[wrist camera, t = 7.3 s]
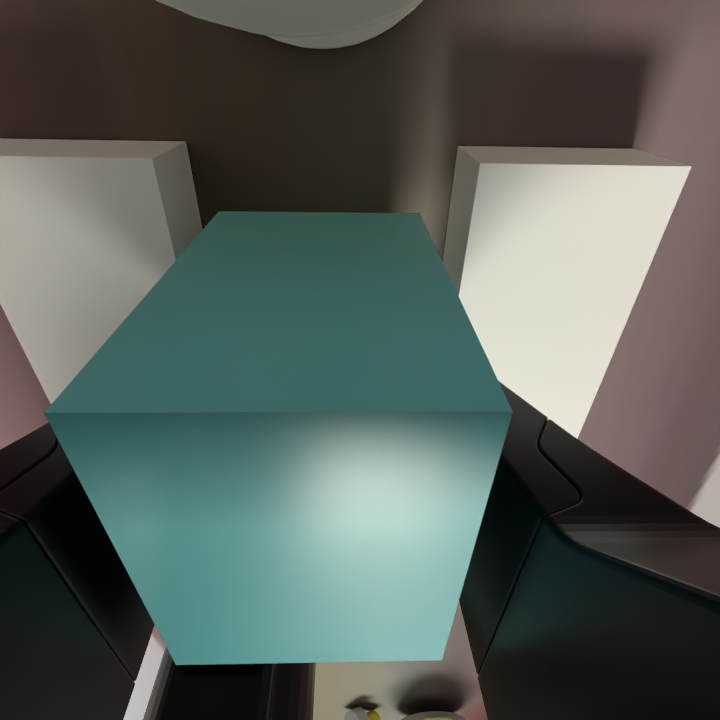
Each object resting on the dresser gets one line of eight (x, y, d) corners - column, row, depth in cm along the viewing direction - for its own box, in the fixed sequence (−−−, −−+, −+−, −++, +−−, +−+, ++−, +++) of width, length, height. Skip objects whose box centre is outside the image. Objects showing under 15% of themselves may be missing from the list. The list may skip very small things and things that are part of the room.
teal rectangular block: (401, 403, 12) (442, 660, 7) (250, 404, 11) (176, 664, 6) (419, 213, 9) (512, 411, 4) (218, 210, 9) (44, 413, 4)
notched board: (535, 437, 15) (558, 483, 13) (121, 438, 14) (92, 486, 13) (633, 148, 10) (691, 166, 8) (-1, 138, 9) (-76, 155, 8)
